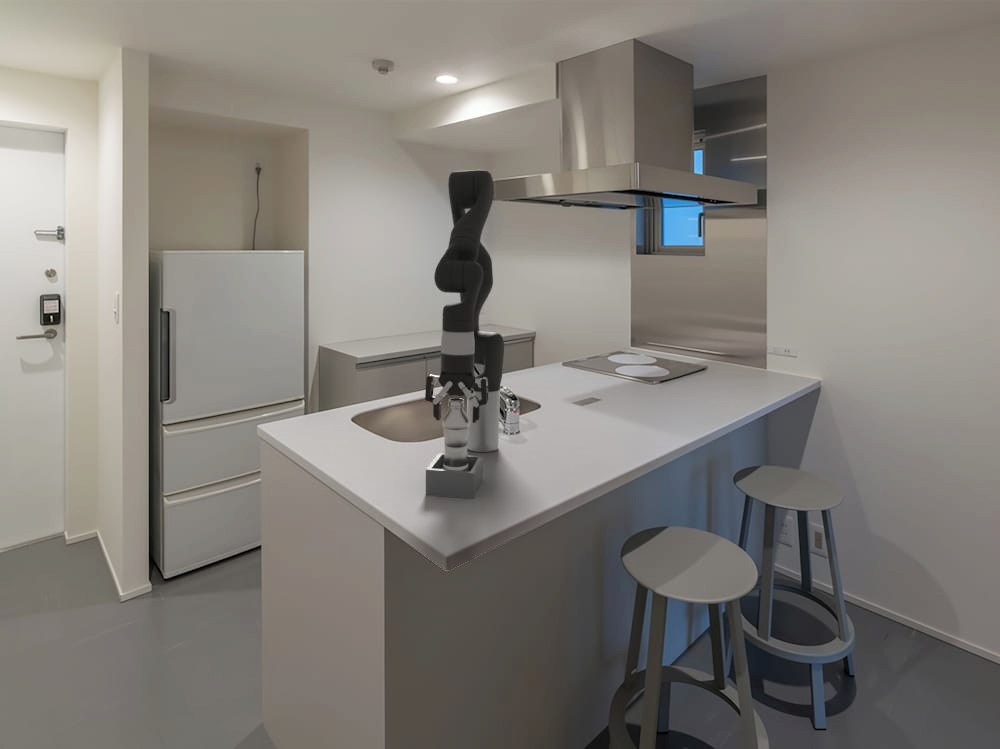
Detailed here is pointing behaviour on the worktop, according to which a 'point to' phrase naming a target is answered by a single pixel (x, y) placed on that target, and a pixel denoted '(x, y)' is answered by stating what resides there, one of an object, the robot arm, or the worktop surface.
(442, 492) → the storage caddy
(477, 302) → the robot arm
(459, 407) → the plastic bottle
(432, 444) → the worktop surface
